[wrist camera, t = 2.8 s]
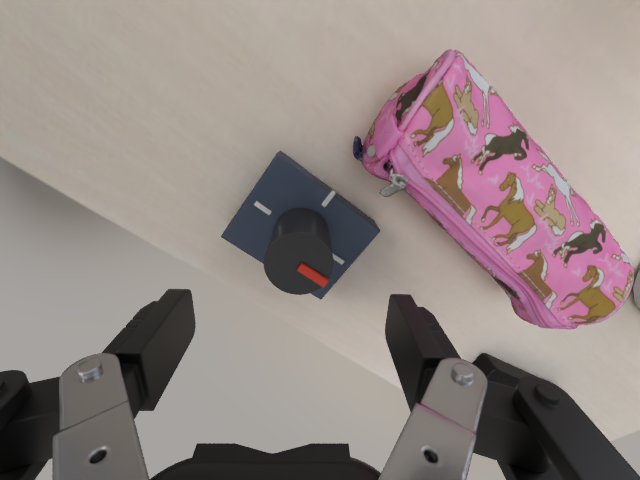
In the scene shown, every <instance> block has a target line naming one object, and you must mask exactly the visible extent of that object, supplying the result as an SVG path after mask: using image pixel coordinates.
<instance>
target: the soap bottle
mask: <svg viewBox="0 0 640 480" xmlns="http://www.w3.org/2000/svg"><path fill="white" fill-rule="evenodd" d="M633 291H634V299H635V304H636V305H637V307H638V308H639V309H640V270H639V271H638V274H637V277H636V279H635V282H634V285H633Z"/></svg>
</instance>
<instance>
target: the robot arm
mask: <svg viewBox="0 0 640 480" xmlns="http://www.w3.org/2000/svg"><path fill="white" fill-rule="evenodd" d="M194 332H195V316H194V308H193V301H192V294H191V291H190V290H188V289H168V290H167V291H166V292H165V294H164V295H163V296H162V297H161V298H160V300H159V301H153V302H151V303H150V304H148V305H147V306H145V307H143V308H142V309H140V311H139V312H138V313H137V314H136V315H135V316H134V317H133V320H131V321H130V322H129V323H128V324H127V325H126V328H123V330H122V331H121V332H120V333H119V334H118V335H117V336H116V337H115V338H114V340H113V341H112V342H111V343H110V344H109V345H108V346H107V347H106V349H105V350H104V351H103V352H102V353H100V354H94V355H91V356H88V357H85V358H83V359H81V360H79V361H77V362H75V363H74V364H72V365H71V366H70V367H68V368H67V369H66V370H65V371H64V372H63V373H62V375H61V377H56V378H52V379H47V380H42V381H37V382H32V383H29V382H28V379H27V377H26V374H25V373H24V372H22V371H18V370H10V371H3V372H0V480H35V478H36V477H37V475H38V474H39V473H40V471H41V470H42V468H43V467H44V466H45V464H46V463H47V461H48V460H49V459H51V458H53V480H149V476H148V473H147V469H146V465H145V461H144V457H143V453H142V449H141V445H140V441H139V437H138V433H137V429H136V425H135V422H134V419H135V417H136V415H137V414H138V412H139V411H153V410H154V409H155V407H156V405H157V403H158V401H159V399H160V397H161V396H162V394H163V392H164V390H165V388H166V386H167V385H168V382H169V381H170V379H171V377H172V375H173V373H174V371H175V370H176V368H177V366H178V364H179V362H180V360H181V359H182V357H183V355H184V353H185V351H186V349H187V348H188V346H189V344H190V342H191V340H192V338H193V336H194ZM385 335H386V341H387V344H388V347H389V350H390V353H391V356H392V359H393V362H394V365H395V367H396V370H397V373H398V376H399V379H400V382H401V385H402V388H403V391H404V394H405V397H406V400H407V403H408V405H409V408H410V411H411V414H410V416H409V418H408V420H407V422H406V424H405V426H404V428H403V430H402V432H401V434H400V436H399V438H398V440H397V442H396V444H395V446H394V449H393V451H392V452H391V454H390V457H389V458H388V461H387V463H386V465H385V467H384V469H383V471H382V473H380V472H379V471H377V470H376V469H375V468H373V467H372V466H370V465H368V464H366V463H364V462H362V461H360V460H358V459H355V458H351V457H350V453H349V445H348V444H309V445H305V446H301V447H297V448H294V449H290V450H286V451H282V452H279V453H274V454H271V453H266V452H262V451H259V450H256V449H252V448H249V447H245V446H242V445H238V444H197V445H196V448H195V451H194V454H193V457H192V458H190V459H186V460H184V461H181V462H178V463H176V464H174V465H172V466H170V467H168V468H166V469H165V470H163V471H161V472H160V473H158V474H157V475H156V476H154V477H153V478H151V479H150V480H466V479H467V475H468V471H469V467H470V462H471V458H472V454H473V453H476V454H479V455H482V456H485V457H488V458H491V459H494V460H497V462H498V464H499V466H500V468H501V470H502V472H503V474H504V476H505V478H506V480H640V476H639V475H638V474H637V473H636V472H635V470H634V469H633V468H632V467H631V466H630V465H629V464H628V463H627V461H626V460H625V459H624V458H623V457H622V456H621V454H620V453H619V452H618V451H617V450H616V449H615V447H614V446H613V445H612V444H611V443H610V442H609V441H608V439H607V438H606V437H605V436H604V435H603V434H602V432H601V431H600V430H599V429H598V428H597V427H596V426H595V424H594V423H593V422H592V421H591V420H590V419H589V418H588V416H587V415H586V414H585V413H584V412H583V411H582V409H581V408H580V407H579V406H578V405H577V404H576V403H575V401H574V400H573V399H572V398H571V397H570V396H569V395H568V394H567V393H566V392H565V391H564V390H562V389H561V388H560V387H558V386H556V385H555V384H553V383H551V382H549V381H547V380H544V379H541V378H537V377H523V378H521V379H520V380H519V382H518V384H517V387H516V388H515V387H511V386H508V385H504V384H500V383H496V382H492V381H489V380H487V378H486V376H485V375H484V373H483V372H482V371H481V370H480V369H479V368H478V367H476V366H475V365H474V364H472V363H470V362H468V361H466V360H463V359H461V358H460V356H459V355H458V353H457V351H456V350H455V348H454V347H453V345H452V343H451V342H450V340H449V339H448V337H447V336H446V334H444V331H443V329H442V328H441V326H439V323H438V321H437V320H436V318H435V316H434V315H433V314H432V313H430V312H429V311H428V310H427V309H425V308H424V307H417V305H416V303H415V302H414V300H413V298H412V296H411V295H405V294H391V296H390V299H389V305H388V312H387V319H386V326H385Z"/></svg>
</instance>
